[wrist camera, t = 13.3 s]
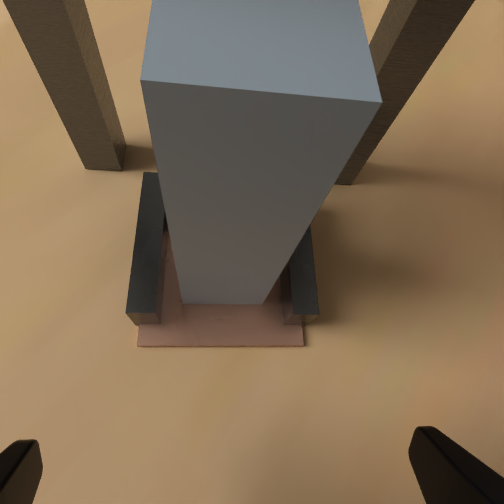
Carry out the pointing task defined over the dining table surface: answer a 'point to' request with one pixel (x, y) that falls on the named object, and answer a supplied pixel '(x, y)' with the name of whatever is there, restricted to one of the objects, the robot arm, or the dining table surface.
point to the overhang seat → (151, 201)
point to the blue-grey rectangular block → (251, 130)
